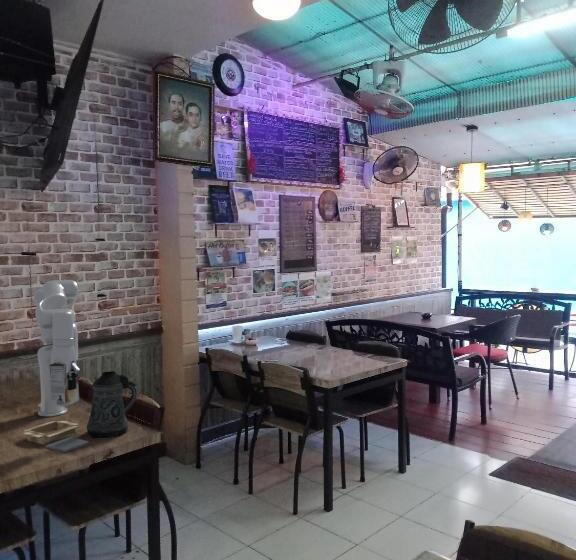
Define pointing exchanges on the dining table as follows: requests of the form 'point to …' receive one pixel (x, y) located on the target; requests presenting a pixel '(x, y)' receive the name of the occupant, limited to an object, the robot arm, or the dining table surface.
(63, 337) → the robot arm
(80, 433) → the dining table surface
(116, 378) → the beer stein
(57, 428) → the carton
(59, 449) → the trivet
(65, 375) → the coffee box
